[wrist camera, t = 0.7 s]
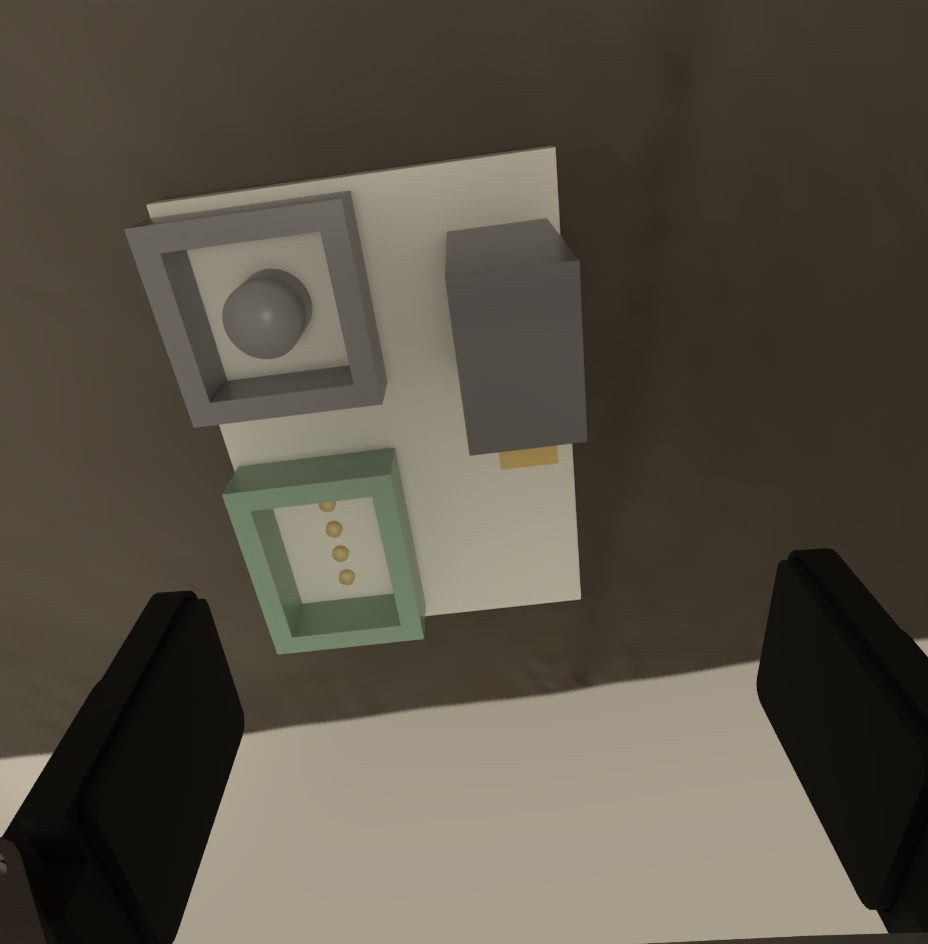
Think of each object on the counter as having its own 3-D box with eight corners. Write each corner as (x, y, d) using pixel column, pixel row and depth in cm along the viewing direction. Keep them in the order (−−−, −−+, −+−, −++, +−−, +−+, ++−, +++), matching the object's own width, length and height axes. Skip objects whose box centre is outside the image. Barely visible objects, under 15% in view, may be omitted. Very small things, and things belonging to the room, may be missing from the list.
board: (551, 145, 27) (565, 151, 24) (577, 585, 37) (589, 631, 34) (158, 200, 28) (118, 214, 24) (292, 616, 38) (277, 664, 35)
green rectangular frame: (394, 447, 32) (390, 474, 30) (425, 605, 36) (424, 638, 34) (238, 466, 32) (221, 494, 30) (288, 620, 37) (277, 654, 35)
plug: (546, 218, 27) (579, 260, 20) (557, 378, 30) (588, 462, 23) (446, 231, 27) (445, 278, 20) (468, 389, 31) (472, 476, 23)
